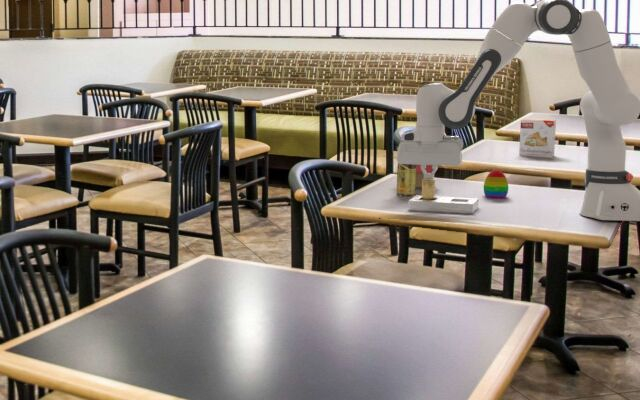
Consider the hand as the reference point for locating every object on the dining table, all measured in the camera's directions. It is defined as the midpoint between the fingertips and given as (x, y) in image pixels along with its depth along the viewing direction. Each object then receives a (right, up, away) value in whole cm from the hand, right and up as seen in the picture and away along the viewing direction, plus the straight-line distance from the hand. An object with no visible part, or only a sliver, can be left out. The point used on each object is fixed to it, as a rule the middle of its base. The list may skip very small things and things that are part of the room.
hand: (428, 179), depth 292 cm
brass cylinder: (0, -9, +1) cm, 9 cm away
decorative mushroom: (0, -4, +36) cm, 36 cm away
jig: (+5, -9, 0) cm, 10 cm away
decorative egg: (+25, -6, +21) cm, 33 cm away
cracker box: (+58, +7, +105) cm, 120 cm away
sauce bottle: (-5, -6, +22) cm, 23 cm away
